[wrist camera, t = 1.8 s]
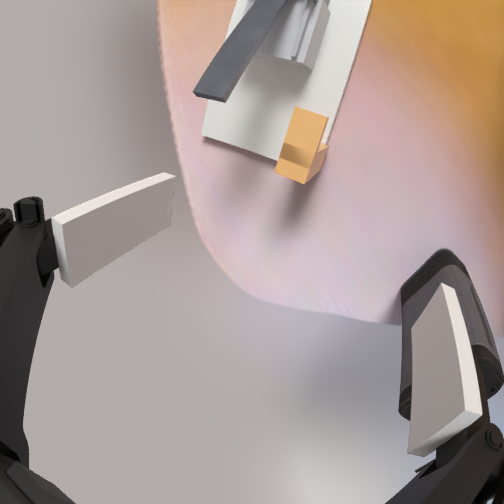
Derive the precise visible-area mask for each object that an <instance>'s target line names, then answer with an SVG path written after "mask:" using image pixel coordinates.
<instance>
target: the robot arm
mask: <svg viewBox="0 0 504 504" xmlns="http://www.w3.org/2000/svg"><path fill="white" fill-rule="evenodd" d="M175 179H176V176H173V175H170V174H167V173H161V174H158V175H155V176H152V177H149V178H146V179H143V180H141V181H138V182H135V183H133V184H130V185H127V186H125V187H122V188H119V189H117V190H114V191H112V192H109V193H107V194H104V195H102V196H99V197H97V198H95V199H92V200H90V201H87V202H85V203H82V204H80V205H78V206H76V207H73V208H72V209H69V210H67V211H65V212H62V213H60V214H58V215H56V216H54V217H51V218H50V219H48V220H46V221H45V218H44V209H43V201H42V199H41V198H39V197H27V198H23V199H21V200H19V201H17V202H15V203H14V211H15V217H16V221H13V215H12V211H11V210H10V209H4V208H1V209H0V504H75V503H74V502H73V501H72V500H71V499H70V498H68V497H67V496H66V495H65V494H64V493H63V492H62V491H61V490H60V489H59V488H57V487H56V486H55V485H54V484H53V483H51V482H49V481H47V480H45V479H44V478H42V477H41V476H39V475H37V474H36V473H34V472H33V471H31V470H30V469H29V447H28V442H27V439H26V437H25V434H24V430H23V416H24V406H25V399H26V392H27V385H28V379H29V373H30V367H31V363H32V358H33V353H34V348H35V344H36V340H37V335H38V331H39V327H40V324H41V320H42V316H43V313H44V309H45V306H46V302H47V299H48V296H49V293H50V290H51V287H52V284H53V281H54V270H55V269H57V268H58V267H59V270H60V276H61V279H62V280H63V281H64V282H65V283H66V284H68V285H69V286H70V287H71V288H73V287H74V286H76V285H77V284H79V283H80V282H82V281H83V280H85V279H86V278H88V277H89V276H91V275H92V274H94V273H95V272H97V271H98V270H100V269H101V268H103V267H104V266H106V265H108V264H109V263H111V262H112V261H114V260H115V259H117V258H118V257H120V256H122V255H123V254H125V253H126V252H128V251H130V250H131V249H133V248H134V247H136V246H138V245H139V244H141V243H142V242H144V241H146V240H147V239H149V238H151V237H152V236H154V235H156V234H157V233H159V232H161V231H162V230H164V229H165V228H167V227H169V226H171V216H172V206H173V196H174V188H175ZM411 333H412V403H411V420H410V432H409V442H408V452H407V453H408V454H413V455H417V456H422V457H425V456H427V455H428V454H430V453H432V452H433V451H435V450H436V459H434V460H432V461H431V462H429V463H427V464H426V465H424V466H422V467H420V468H419V469H417V470H415V472H416V473H417V472H419V471H420V472H419V473H418V474H417V475H416V476H415V478H413V479H412V480H411V481H410V482H409V483H408V484H407V485H406V486H405V487H404V488H403V489H401V490H400V491H399V492H398V493H397V494H396V495H395V496H394V497H392V498H391V499H390V500H389V501H388V502H386V503H385V504H487V501H489V500H491V499H493V498H494V499H493V502H492V504H504V439H503V435H502V433H501V431H500V429H499V428H498V427H497V426H496V425H495V424H493V423H490V416H489V409H488V402H487V395H486V393H485V392H486V389H485V384H484V378H483V373H482V370H481V368H480V366H479V364H478V362H477V360H474V359H473V354H472V350H471V345H470V341H469V337H468V333H467V329H466V326H465V322H464V318H463V315H462V312H461V308H460V305H459V302H458V299H457V295H456V292H455V289H453V288H451V287H449V286H447V285H445V284H443V283H441V284H440V286H439V287H438V289H437V291H436V292H435V294H434V295H433V297H432V298H431V300H430V302H429V303H428V305H427V306H426V308H425V309H424V311H423V312H422V314H421V315H420V317H419V318H418V320H417V321H416V322H415V324H414V325H413V327H412V328H411Z"/></svg>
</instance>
